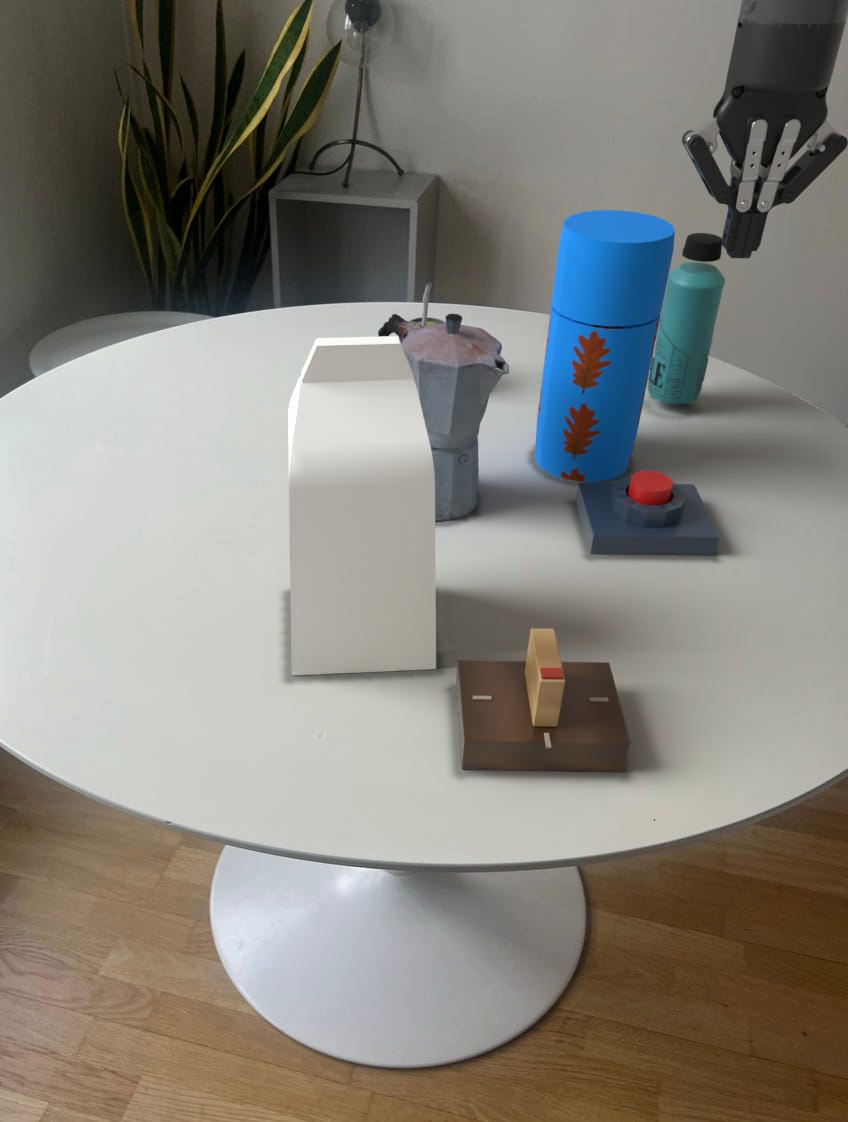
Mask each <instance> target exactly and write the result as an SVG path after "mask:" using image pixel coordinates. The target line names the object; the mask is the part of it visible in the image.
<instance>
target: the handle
mask: <svg viewBox="0 0 848 1122" xmlns="http://www.w3.org/2000/svg"><path fill="white" fill-rule="evenodd" d="M529 631H530V632H529V639H528V644H527V645H528V646H527V652H526V659H525V661H526V666H525V679H526V685H527V691H528V698H529V704H530V710H531V717H532V723H533V726H541V727H557V725H558V719H559V714H560V708H561V702H562V697H563V691H564V685H565V678H564V674H563V669H562V664H561V662H562V660H561V659H562V658H561V655H560V649H559V645H558V640H557V636H556V631H555V629H554V628H537V627H536V628H533V627H532V628H530V630H529Z"/></svg>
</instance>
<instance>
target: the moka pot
mask: <svg viewBox="0 0 848 1122" xmlns="http://www.w3.org/2000/svg"><path fill="white" fill-rule="evenodd" d="M462 323H463V316H462V315H460V314H458V313H448V314H447V315H445V323H440V324H434V325H428V326H421V324H420V323H417V322H414V321H410V320H406V319H404V318H403V317H401V315H399V314H396V313H393V314H391V317H389V318H388V321H385V322H384V323H383V325H382V327H380V328H379V330H378V331H377V334H378V337H381V336H391V335H392V334H396V336H398V337H399V338H400V339H401V340H402V341H403V342H402V343H401V344H402V347H403V349H404V351H405V354H406V356H407V359H408V361H409V364H410V366H411V369H412V372H413V375H414V379H415V383H416V387H417V391H418V396H419V400H420V404H421V408H422V413H423V417H424V421H425V425H426V430H427V434H428V438H429V443H430V447H431V452H432V458H433V464H434V473H435V521H437V522H440V521H441V522H443V521H444V522H445V521H451V520H456V519H460V518H462V517H464V516H466V515H468V514H470V513H471V512H472V511H474V509H475V508H476V506H477V504H478V501H479V498H480V497H479V495H480V481H479V480H480V479H479V477H480V476H479V474H480V472H479V438H478V437H479V433H480V428H481V423H482V421H483V419H484V417H485V416H484V415H485V414H486V411H487V407H488V403H489V399H490V395H491V394H492V392H493V390H494V389H495V387H496V386H497V384H498V383H499V381H500V379H501V378H502V377H503V375H507V374H510V365H509V363H507V362H506V361H505V358H503V356H501V353H502V350H503V345H502V342H501V341H500V340H498V339H497V338H495V337H494V336H493V335H491V333H489V332H488V331H486V329H483V328H482V327H476V326H471V325H465V324H462Z"/></svg>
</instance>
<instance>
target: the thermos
mask: <svg viewBox="0 0 848 1122" xmlns="http://www.w3.org/2000/svg"><path fill="white" fill-rule="evenodd" d="M675 234H676V230H675V227H674V225H673V224H672V223H670V222H668V221H667V220H665V219H663V218H661V217H657V216H655V215H652V214H647V213H644V212H643V213H642V212H639V211H638V212H637V211H629V210H619V209H601V210H600V209H595V210H588V211H581V212H577V213H574V214H571V215H569V216H568V217H567V218H565V219H564V220H563V225H562V228H561V232H560V236H559V241H558V250H557V255H556V257H557V258H556V265H555V273H554V281H553V282H554V283H553V289H552V297H551V306H550V313H549V322H548V329H547V337H546V346H545V354H544V361H543V370H542V378H541V385H540V393H539V400H538V401H539V402H538V410H537V417H536V430H535V444H534V445H535V446H534V460H535V462H536V463H537V465H538V466H539V467H540V469H542V470H543V471H545V472H547V473H549V474H550V475H552V476H555V477H558V478H561V479H563V480H568V481H572V482H578V483H602V482H605V481H609V480H614V479H616V478H618V477H619V476H622V475H624V474H625V473H626V471H627V469H628V468H629V466H630V463H631V459H632V455H633V450H634V447H635V443H636V439H637V436H638V430H639V425H640V421H641V415H642V412H643V411H642V410H643V406H644V401H645V396H646V391H647V386H648V382H649V379H648V376H649V374H650V372H649V371H650V368H651V363H652V362H651V361H652V359H653V358H652V356H653V357H654V352H655V351H654V350H655V347H656V341H657V336H658V331H659V325H660V320H661V314H662V310H663V306H664V301H665V295H666V290H667V284H668V276H669V274H670V269H671V265H672V260H673V254H674V246H675Z"/></svg>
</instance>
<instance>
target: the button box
mask: <svg viewBox="0 0 848 1122" xmlns="http://www.w3.org/2000/svg"><path fill="white" fill-rule="evenodd" d="M631 477H632V475H629V476H627V477H624V478H620V479H619V480H618V481H617V482H578V483H577V487H576V493H575V505H576V508H577V511H578V512H577V513H578V515H579V520H580V522H581V527H582V530H583V534H584V537H585V540H586V544H587V547H588V552H589V555H619V556H620V555H621V556H623V555H624V556H625V555H626V556H697V557H698V556H701V557H705V556H706V557H714V556H715V555H716V552H717V548H718V544H719V540H720V534H719V533H718V531H717V529H716V527H715V525H714V523H713V521H712V519H711V518H712V517H711V516H710V514H709V512H708V510H707V508H706V505H705V503H704V502H703V499H702V497H701V495H700V493H699V491H698V488H697V487H696V485H695V484H694V483H675V482H673V487H672V491H671V495H670V500H669V502H668V503H666V504H663V505H645V504H642V503H638V502H635V501H634V500H633V499H631V498H630V497H629V496H628V491H629V486H630V481H631Z"/></svg>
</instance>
